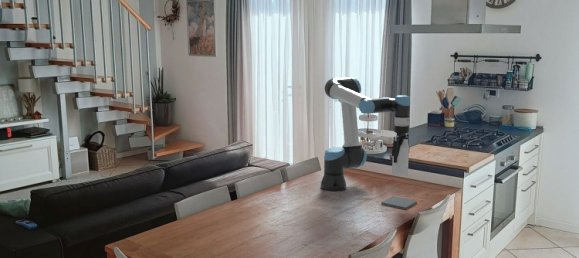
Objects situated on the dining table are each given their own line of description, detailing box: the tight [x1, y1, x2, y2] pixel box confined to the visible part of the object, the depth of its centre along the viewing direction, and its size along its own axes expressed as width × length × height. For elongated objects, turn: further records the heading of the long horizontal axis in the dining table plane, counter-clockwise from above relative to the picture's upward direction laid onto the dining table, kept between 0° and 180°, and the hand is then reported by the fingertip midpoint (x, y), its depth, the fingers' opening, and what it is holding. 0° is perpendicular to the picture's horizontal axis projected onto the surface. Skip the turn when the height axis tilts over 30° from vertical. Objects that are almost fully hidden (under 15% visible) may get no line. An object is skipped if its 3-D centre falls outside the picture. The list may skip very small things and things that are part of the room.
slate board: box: [381, 196, 418, 211], centre depth 280 cm, size 14×14×1 cm
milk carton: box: [391, 139, 410, 177], centre depth 276 cm, size 7×7×19 cm
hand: (400, 166), depth 277 cm, fingers closed on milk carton, 10 cm apart
